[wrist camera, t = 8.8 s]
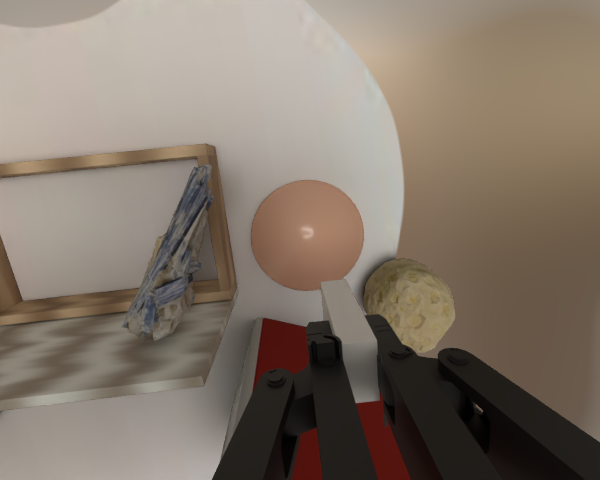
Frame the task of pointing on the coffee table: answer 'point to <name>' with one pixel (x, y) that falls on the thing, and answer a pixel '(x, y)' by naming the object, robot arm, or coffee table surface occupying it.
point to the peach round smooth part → (307, 235)
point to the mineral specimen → (173, 264)
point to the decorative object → (411, 302)
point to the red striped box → (307, 471)
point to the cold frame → (110, 315)
